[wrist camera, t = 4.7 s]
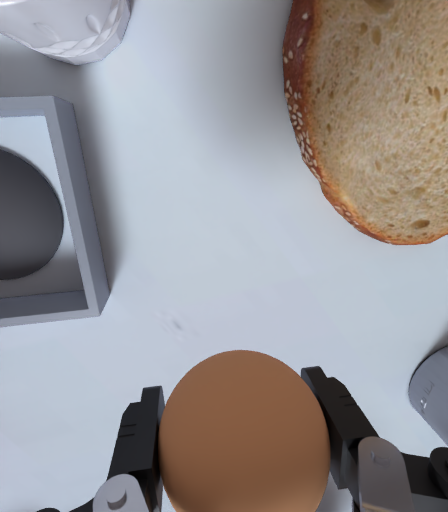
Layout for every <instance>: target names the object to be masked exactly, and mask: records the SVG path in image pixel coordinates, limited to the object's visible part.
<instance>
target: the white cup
mask: <svg viewBox="0 0 448 512" xmlns="http://www.w3.org/2000/svg"><path fill="white" fill-rule="evenodd" d="M129 18H130V5H129V0H0V33H1V34H3V35H5V36H7V37H9V38H11V39H13V40H15V41H17V42H19V43H20V44H22V45H25V46H27V47H29V48H31V49H33V50H36V51H38V52H41V53H42V54H44V55H46V56H47V57H49V58H53V59H56V60H60V61H63V62H67V63H70V64H74V65H81V64H86V63H91V62H96V61H100V60H103V59H104V58H105V57H106V56H107V55H108V54H109V53H110V52H112V51H113V50H114V49H115V48H116V47H117V46H118V45H119V44H120V43H121V41H122V38H123V36H124V33H125V30H126V27H127V24H128V21H129Z"/></svg>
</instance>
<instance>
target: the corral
mask: <svg viewBox="0 0 448 512" xmlns="http://www.w3.org/2000/svg"><path fill="white" fill-rule="evenodd" d="M21 116H45V117H46V121H47V126H48V130H49V135H50V139H51V144H52V148H53V153H54V157H55V161H56V166H57V170H58V175H59V179H60V184H61V188H62V193H63V197H64V201H65V206H66V210H67V215H68V219H69V224H70V228H71V232H72V237H73V241H74V246H75V250H76V255H77V259H78V264H79V268H80V272H81V277H82V281H83V286H84V290H81V291H71V292H61V293H52V294H42V295H32V296H22V297H12V298H2V299H0V327H7V326H16V325H25V324H34V323H43V322H52V321H61V320H70V319H80V318H89V317H98V316H100V315H101V313H102V311H103V309H104V307H105V304H106V302H107V300H108V298H109V296H110V292H109V287H108V282H107V277H106V272H105V266H104V261H103V256H102V251H101V246H100V241H99V236H98V231H97V226H96V220H95V215H94V210H93V205H92V200H91V195H90V190H89V185H88V179H87V174H86V169H85V164H84V159H83V154H82V149H81V144H80V138H79V133H78V128H77V123H76V118H75V113H74V108H73V104H72V103H70V102H67V101H65V100H62V99H60V98H58V97H55V96H25V97H0V117H21Z"/></svg>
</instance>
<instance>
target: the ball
mask: <svg viewBox="0 0 448 512" xmlns="http://www.w3.org/2000/svg"><path fill="white" fill-rule="evenodd" d="M330 456H331V454H330V439H329V433H328V428H327V424H326V420H325V417H324V415H323V412H322V409H321V407H320V405H319V403H318V401H317V399H316V397H315V396H314V394H313V392H312V391H311V389H310V388H309V386H308V385H307V384H306V383H305V382H304V380H303V379H302V378H301V377H300V376H299V375H298V374H297V373H296V372H295V371H294V370H293V369H291V368H290V367H289V366H287V365H286V364H285V363H283V362H281V361H280V360H278V359H276V358H273V357H271V356H269V355H267V354H263V353H260V352H255V351H248V350H233V351H227V352H223V353H219V354H216V355H214V356H211V357H209V358H207V359H205V360H203V361H202V362H200V363H199V364H197V365H196V366H194V367H193V368H192V369H191V370H190V371H189V372H187V373H186V375H185V376H184V377H183V378H182V379H181V380H180V382H179V383H178V384H177V385H176V387H175V388H174V390H173V392H172V393H171V395H170V397H169V399H168V401H167V403H166V406H165V408H164V411H163V414H162V418H161V421H160V426H159V432H158V463H159V471H160V475H161V478H162V482H163V485H164V489H165V491H166V493H167V495H168V498H169V500H170V502H171V504H172V506H173V508H174V509H175V510H176V512H315V511H316V509H317V508H318V506H319V504H320V502H321V499H322V497H323V494H324V491H325V488H326V485H327V481H328V476H329V470H330Z"/></svg>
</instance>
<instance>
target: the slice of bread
mask: <svg viewBox="0 0 448 512" xmlns="http://www.w3.org/2000/svg"><path fill="white" fill-rule="evenodd" d="M283 72H284V92H285V98H286V101H287V105H288V110H289V116H290V120H291V123H292V126H293V129H294V132H295V136H296V140H297V143H298V145H299V147H300V150H301V155H302V159H303V161H304V162H305V163H306V165H307V166H308V168H309V169H310V171H311V172H312V173H313V175H314V176H315V177H316V178H317V179H318V181H319V183H320V185H321V189H322V192H323V194H324V196H325V197H326V199H327V200H328V201H329V202H330V203H331V204H332V206H333V207H334V209H335V210H336V211H337V212H338V213H339V214H340V215H341V216H342V217H343V218H344V219H346V220H347V221H348V222H349V223H350V224H351V225H352V226H353V227H354V228H356V229H357V230H358V231H360V232H362V233H364V234H366V235H368V236H370V237H372V238H374V239H377V240H379V241H382V242H385V243H388V244H393V245H418V244H428V243H431V242H433V241H435V240H437V239H439V238H441V237H442V236H445V235H447V234H448V0H293V3H292V8H291V13H290V17H289V21H288V24H287V27H286V32H285V37H284V42H283Z"/></svg>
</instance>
